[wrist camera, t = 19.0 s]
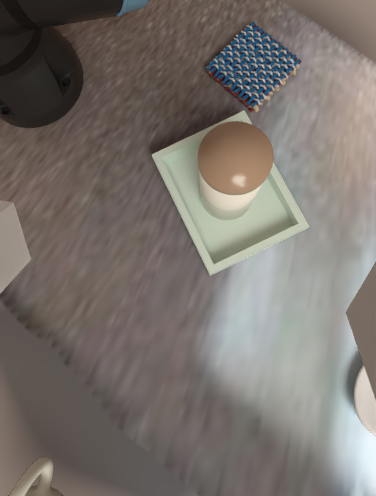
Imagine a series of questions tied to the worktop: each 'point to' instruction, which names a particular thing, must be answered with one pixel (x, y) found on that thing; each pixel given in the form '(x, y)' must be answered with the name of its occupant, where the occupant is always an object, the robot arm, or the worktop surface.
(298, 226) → the tray
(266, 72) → the woven mat
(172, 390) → the worktop surface
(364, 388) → the spoon
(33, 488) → the pitcher
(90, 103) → the worktop surface
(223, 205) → the canister
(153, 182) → the worktop surface
